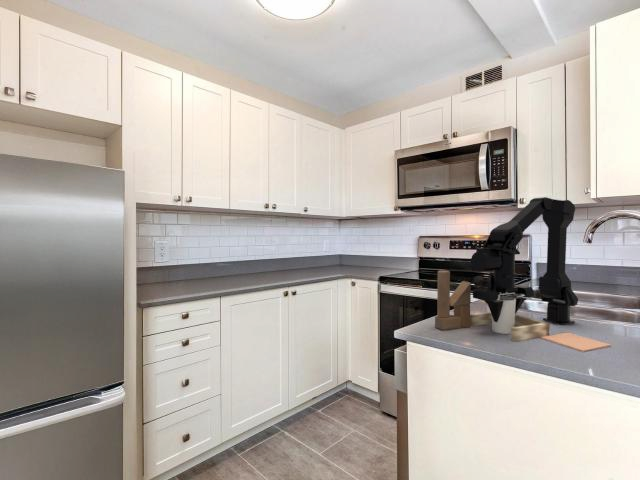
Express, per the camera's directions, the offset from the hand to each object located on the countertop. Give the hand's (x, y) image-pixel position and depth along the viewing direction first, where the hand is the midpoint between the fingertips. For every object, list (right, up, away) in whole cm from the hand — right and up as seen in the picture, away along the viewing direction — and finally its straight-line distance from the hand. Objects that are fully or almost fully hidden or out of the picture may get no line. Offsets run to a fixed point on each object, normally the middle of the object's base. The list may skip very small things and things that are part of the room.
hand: (503, 321), depth 102 cm
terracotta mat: (+14, -3, -10) cm, 18 cm away
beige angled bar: (+2, -3, +1) cm, 3 cm away
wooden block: (-14, -3, +4) cm, 15 cm away
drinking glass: (0, -3, 0) cm, 3 cm away
